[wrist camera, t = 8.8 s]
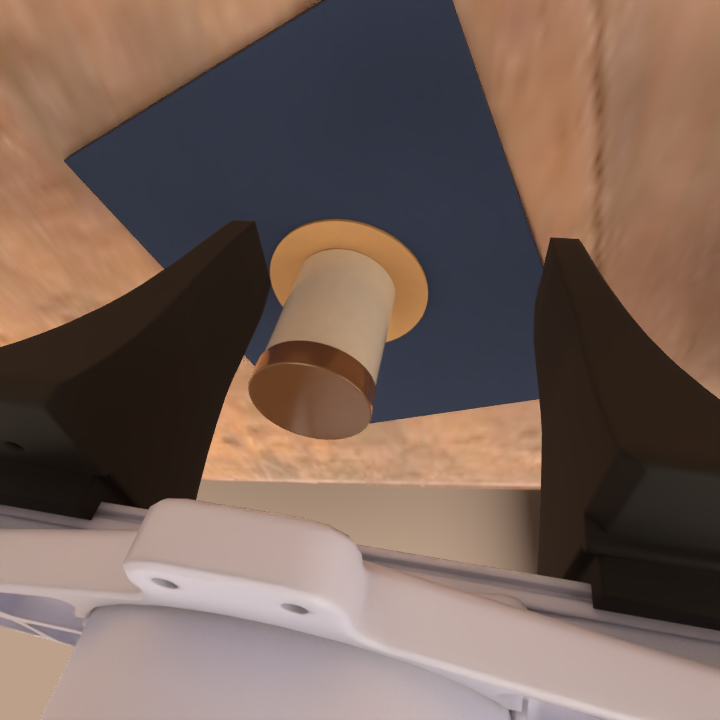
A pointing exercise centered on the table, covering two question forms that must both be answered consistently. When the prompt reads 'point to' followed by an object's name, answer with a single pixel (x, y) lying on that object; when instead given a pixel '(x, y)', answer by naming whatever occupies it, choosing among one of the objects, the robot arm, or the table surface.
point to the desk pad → (350, 189)
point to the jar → (326, 347)
